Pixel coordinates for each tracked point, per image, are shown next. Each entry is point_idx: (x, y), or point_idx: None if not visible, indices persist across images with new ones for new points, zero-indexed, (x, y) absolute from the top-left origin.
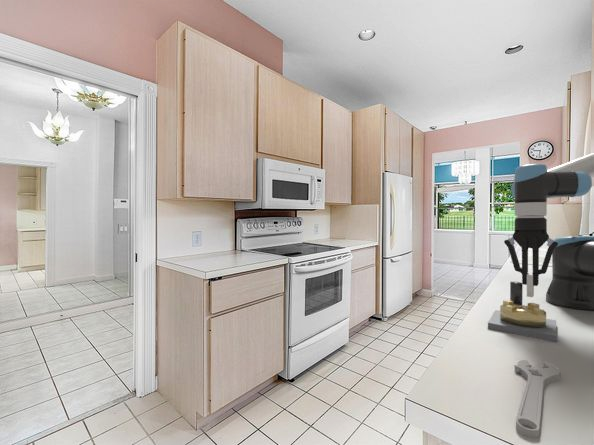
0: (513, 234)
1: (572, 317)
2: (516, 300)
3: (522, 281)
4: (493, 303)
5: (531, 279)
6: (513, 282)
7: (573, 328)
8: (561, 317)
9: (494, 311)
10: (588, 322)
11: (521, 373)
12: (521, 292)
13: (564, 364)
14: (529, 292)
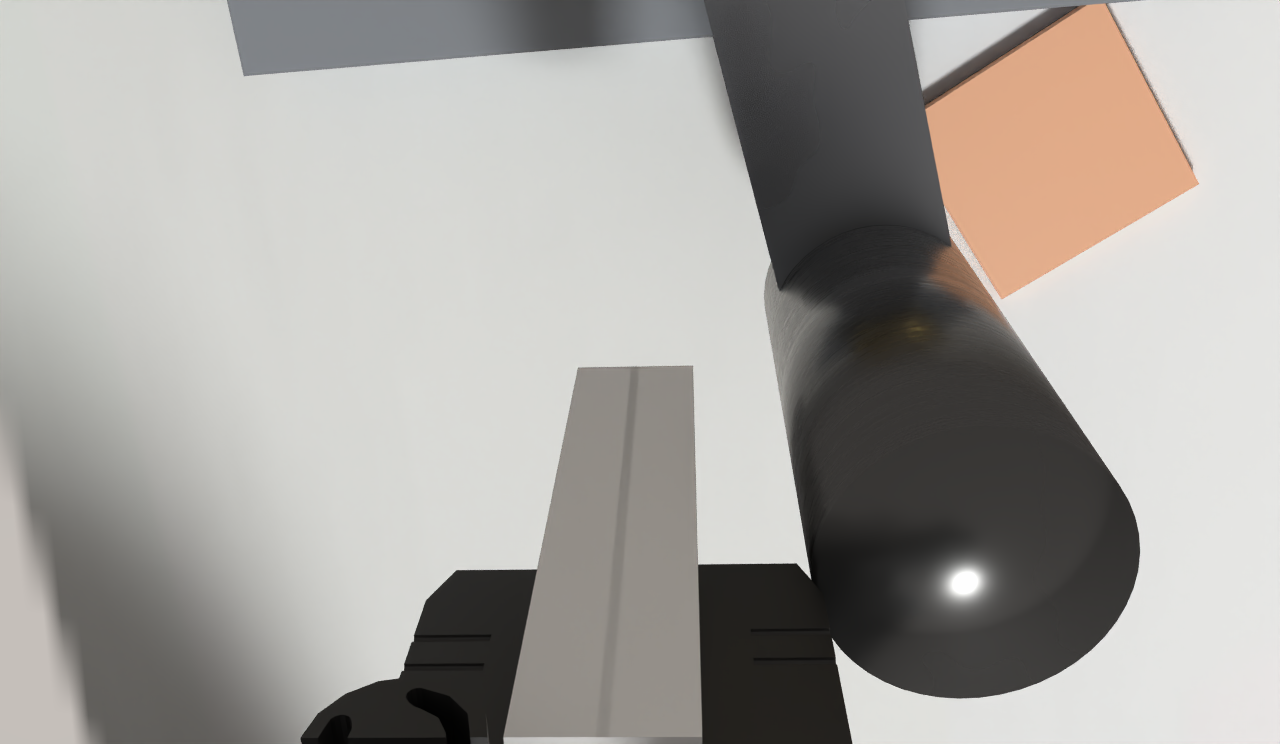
0: None
1: (225, 664)
2: (874, 245)
3: (819, 614)
4: (1203, 705)
5: (559, 625)
6: (1050, 539)
7: (77, 102)
8: (321, 575)
9: (1179, 182)
10: (36, 558)
11: None
12: (804, 386)
13: None
14: (635, 412)
